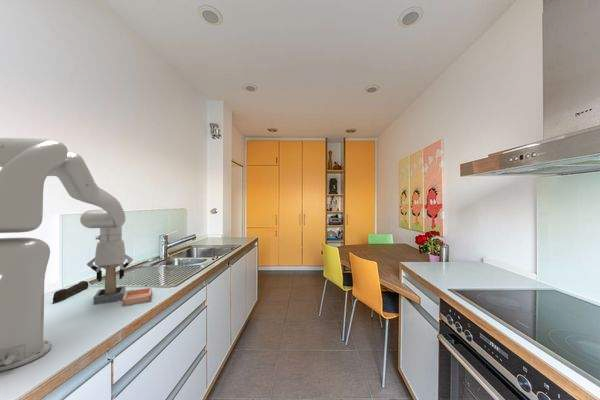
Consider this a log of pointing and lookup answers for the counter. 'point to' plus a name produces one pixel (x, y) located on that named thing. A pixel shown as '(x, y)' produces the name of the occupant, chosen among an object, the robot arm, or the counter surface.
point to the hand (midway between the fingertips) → (110, 279)
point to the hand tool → (69, 291)
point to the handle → (110, 279)
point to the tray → (137, 296)
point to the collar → (109, 296)
